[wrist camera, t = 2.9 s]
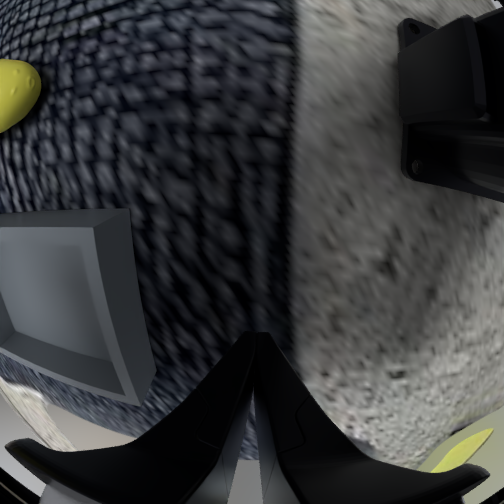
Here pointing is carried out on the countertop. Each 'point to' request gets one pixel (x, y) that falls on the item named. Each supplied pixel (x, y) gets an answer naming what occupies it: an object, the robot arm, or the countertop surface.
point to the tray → (75, 300)
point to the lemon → (17, 91)
